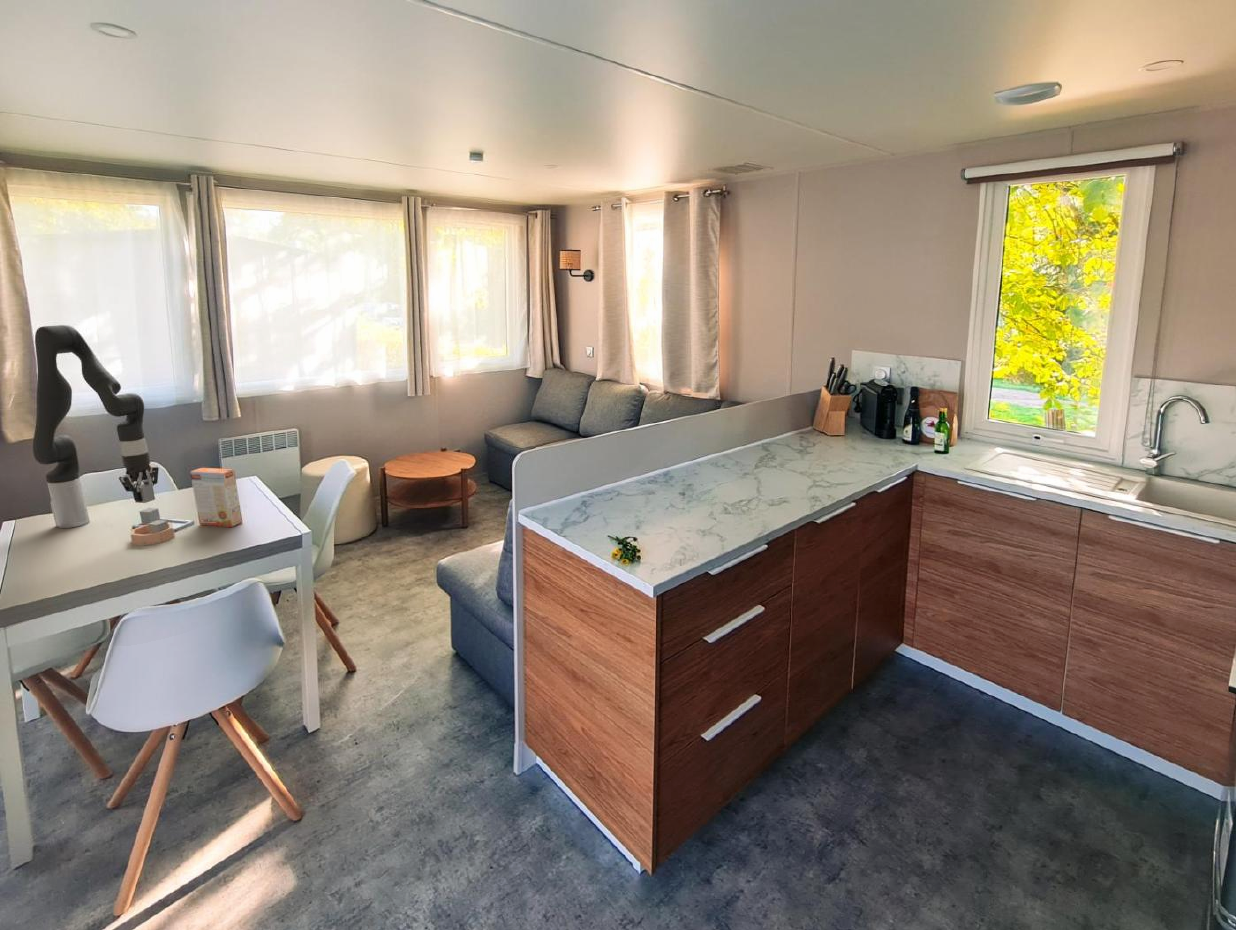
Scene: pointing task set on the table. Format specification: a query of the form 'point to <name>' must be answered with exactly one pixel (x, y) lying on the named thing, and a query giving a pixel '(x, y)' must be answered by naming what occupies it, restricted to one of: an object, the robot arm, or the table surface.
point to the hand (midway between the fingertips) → (144, 499)
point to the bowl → (151, 535)
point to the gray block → (149, 515)
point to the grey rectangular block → (157, 526)
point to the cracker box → (216, 497)
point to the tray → (176, 523)
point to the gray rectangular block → (146, 493)
